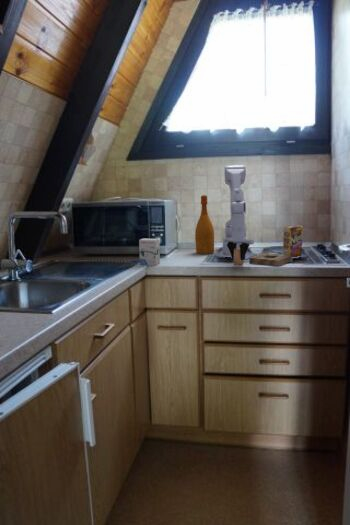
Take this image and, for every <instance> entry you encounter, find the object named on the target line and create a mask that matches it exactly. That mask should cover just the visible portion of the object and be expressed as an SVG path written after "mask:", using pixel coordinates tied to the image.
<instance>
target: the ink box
mask: <svg viewBox="0 0 350 525" xmlns="http://www.w3.org/2000/svg"><path fill="white" fill-rule="evenodd" d="M138 244H139V245H138V246H139V249H138V251H139V265H140V264H142V265H143V266H158V265H160V263H161V258H160V257H161V256H160V254H161V253H160V252H161V251H160V250H161V249H160V239H159V238H144V237H143V238H140V239H139V240H138Z"/></svg>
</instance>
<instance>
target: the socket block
mask: <svg viewBox="0 0 350 525" xmlns="http://www.w3.org/2000/svg"><path fill="white" fill-rule="evenodd" d="M248 260H249V264H254V265H263V266H264V265H265V266H270V267H271V266H273V267H280V266H282V265H285V264H287V263H289V262H292V259H291V255H283V254H280V253H279V254H276V253H269V252H268V253H266V252H263V253H260V254H257V255H254V256H251V257H249V259H248Z"/></svg>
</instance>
